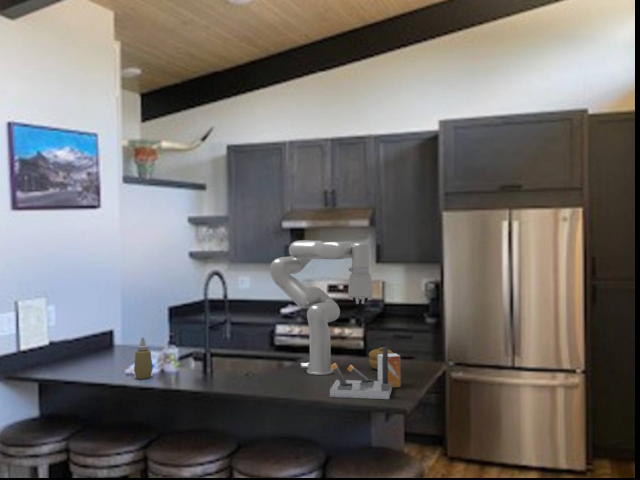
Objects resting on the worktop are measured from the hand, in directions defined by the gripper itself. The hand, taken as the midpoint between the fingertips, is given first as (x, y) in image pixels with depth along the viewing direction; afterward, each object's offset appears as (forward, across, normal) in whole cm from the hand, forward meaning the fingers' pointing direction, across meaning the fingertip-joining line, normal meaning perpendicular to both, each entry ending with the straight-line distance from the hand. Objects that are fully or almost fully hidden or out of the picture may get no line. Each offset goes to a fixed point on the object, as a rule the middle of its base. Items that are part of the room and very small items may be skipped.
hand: (360, 312), depth 287 cm
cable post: (+25, +14, -30) cm, 42 cm away
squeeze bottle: (+30, -96, -14) cm, 102 cm away
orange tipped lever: (+25, -2, -30) cm, 39 cm away
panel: (+28, +4, -25) cm, 38 cm away
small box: (+29, +14, -12) cm, 34 cm away
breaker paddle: (+24, +6, -23) cm, 34 cm away
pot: (+29, +7, +19) cm, 35 cm away
